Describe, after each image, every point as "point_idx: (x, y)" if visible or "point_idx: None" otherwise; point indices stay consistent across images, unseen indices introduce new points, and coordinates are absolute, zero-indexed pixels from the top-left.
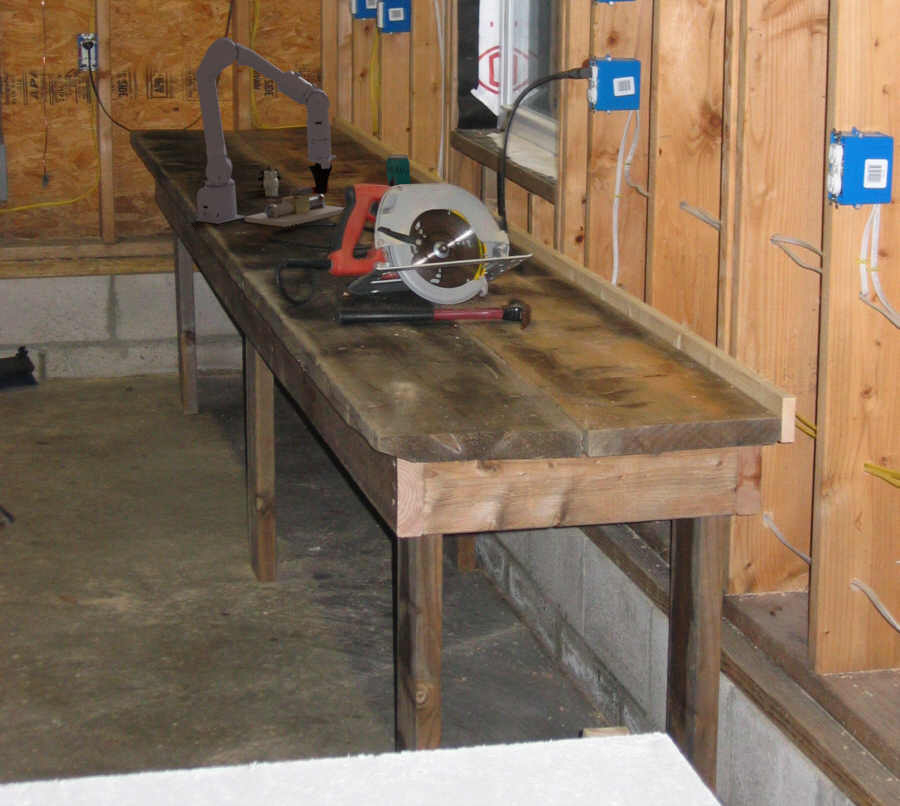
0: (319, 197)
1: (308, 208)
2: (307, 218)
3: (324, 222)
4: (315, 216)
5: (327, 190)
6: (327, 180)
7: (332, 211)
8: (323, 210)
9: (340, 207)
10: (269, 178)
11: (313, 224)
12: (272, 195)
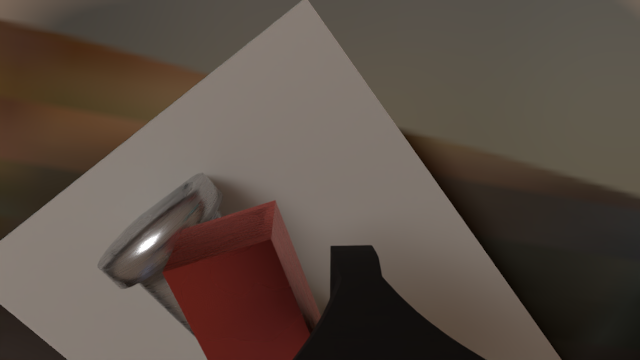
0: None
1: None
2: (541, 332)
3: (601, 227)
4: (503, 279)
5: (282, 226)
6: (424, 321)
7: (410, 145)
8: (345, 204)
9: (260, 45)
10: None
11: (623, 297)
12: None
